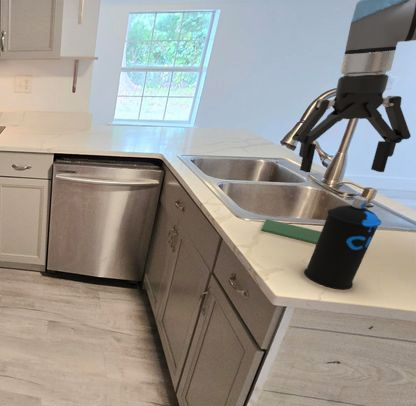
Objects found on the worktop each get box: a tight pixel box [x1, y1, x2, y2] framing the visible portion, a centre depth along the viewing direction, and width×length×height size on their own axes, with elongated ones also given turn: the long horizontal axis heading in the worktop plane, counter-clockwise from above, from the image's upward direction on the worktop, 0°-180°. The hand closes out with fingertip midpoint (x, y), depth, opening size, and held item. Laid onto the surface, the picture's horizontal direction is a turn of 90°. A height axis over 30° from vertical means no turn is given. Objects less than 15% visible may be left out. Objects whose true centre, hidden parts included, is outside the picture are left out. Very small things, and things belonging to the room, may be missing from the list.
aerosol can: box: [304, 196, 382, 290], centre depth 79 cm, size 8×8×20 cm
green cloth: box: [260, 218, 322, 245], centre depth 103 cm, size 14×8×1 cm, turn 46°
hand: (340, 171), depth 85 cm, fingers open, 13 cm apart
